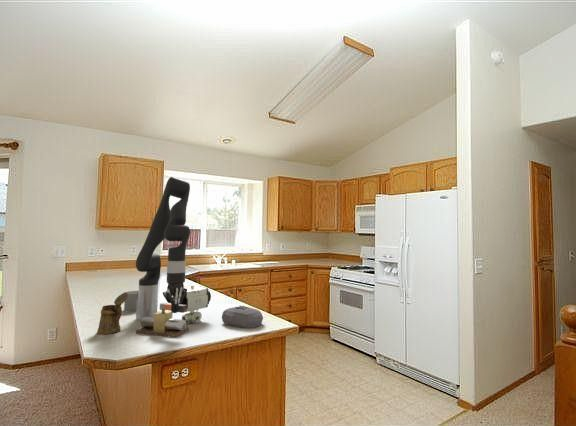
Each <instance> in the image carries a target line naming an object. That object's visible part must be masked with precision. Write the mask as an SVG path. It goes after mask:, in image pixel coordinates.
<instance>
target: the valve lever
mask: <svg viewBox="0 0 576 426" xmlns="http://www.w3.org/2000/svg"><path fill="white" fill-rule="evenodd" d="M159 310H160V311H162V310H165V311H171V303H168V302H161V303H159ZM177 313H182V314H184V313H188V312H187V305H182V304H179V309H178V312H177Z"/></svg>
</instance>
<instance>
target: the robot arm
mask: <svg viewBox="0 0 576 426" xmlns="http://www.w3.org/2000/svg"><path fill="white" fill-rule="evenodd" d="M190 192H191V185H190V182H188V181H185V180H183V179H180V178H177V177H175V176H170V177H169V178H168V179H167V181H166V184H165V187H164V190H163V193H162V197H161V200H160V202H159V206H158V208H157V211H156V213H155V215H154V218H153V220H152V223H151V226H150V228H149V231H148V234H147V235H146V238H145V241H144V244H143V245H142V248H141V249H140V251H139V253H138V255H137V258H136V262H135V267H136V270H137V271H138V272H141V273H145V272H146V273H145V274H144V276H142V277H141V278H140V279H139V280H138V291H139V296H138V300H137V303H136V312H135V319H136V320H138V321H141V319H142V318H143V317H154V313H157V312H158V299H159V296H158V295H159V281H160V279H161V267H162V260H161V257H160V255H159V254H158V253H155V250H156V249H157V247H158V246H159V245H160V244H161V243H162V242H163V241H164V240H166V241H168V242H181V243H180V244H179V245H176V246H171V247H169V248H168V250H167V266H166V283H167V287H166V291H163V292H162V295H163V297H164V299H165V300H166V303H168V304H171V312H172V313H173V314H177V313H179V312H178V309H179V303H180V301H182V300H183V298H184V296H185V294H186V292H187V289H188V288H185V286H184V283H185V282H186V250H187V245H188V242H189V239H190V236H191V228H190V227H189V226H188V225H186V222H187V207H188V201H189V195H190ZM171 197H174V198H178V199H179V200H178V201H177V202H176V203H174V204H173V205H172V206H171V207H170V198H171ZM173 299H174V300H173Z"/></svg>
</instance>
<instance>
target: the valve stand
mask: <svg viewBox="0 0 576 426" xmlns="http://www.w3.org/2000/svg"><path fill="white" fill-rule="evenodd" d="M173 314H174V313H172V312H171V311H170V310H160V311H157V313H154V317H143V318H142V319H141V320H140V328H137V329H135V334H137V335H148V336H149V335H150V336H158V337H159V336H160V337H168V336H170V338H177V336H178V337H179V336H181V335H183V334H186V333H187V332H189V331H190V326H186V324H187V323H186V322H185V320H182V319H177V318H173ZM188 330H189V331H188ZM186 331H187V332H186Z"/></svg>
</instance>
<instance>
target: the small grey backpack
mask: <svg viewBox="0 0 576 426" xmlns="http://www.w3.org/2000/svg"><path fill="white" fill-rule="evenodd" d="M221 320H222V322H223V324H226V325H228V326H230V327H235V328H246V329H247V328H257V327H261V325H262V323H263V320H264V316H263V313H262V312H261V310H259V309H256V308H253V307H248V306H244V305H239V306H235V307H234V306H233V307H229V308H227V309H225V310H223V312H222V315H221Z"/></svg>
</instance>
